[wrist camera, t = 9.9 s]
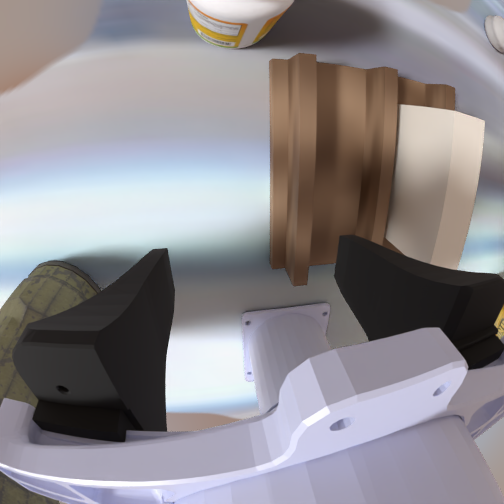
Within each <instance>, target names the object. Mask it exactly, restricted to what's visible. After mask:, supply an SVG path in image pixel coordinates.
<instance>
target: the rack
mask: <svg viewBox="0 0 504 504" xmlns="http://www.w3.org/2000/svg"><path fill="white" fill-rule="evenodd" d="M269 75H270V265H271V268H272V269H281V268H285V269H286V271H287V274H288V276H289V278H290V280H291V282H292V285H293V286H301V285H307V280H308V270H309V266H313V265H323V264H333V263H336V259H337V252H338V244H339V235H356V236H359V237H362V238H365V239H367V240H370V241H372V242H374V243H377V244H379V245H381V246H383V247H386V248H388V249H390V250H393V251H395V252H398V253H400V254H403V253H402V252H401V251H400V250H398V249H397V248H396V247H395V246H394V245H393V244H392V243H390V242H389V241H388V240H387V239H386V238H385V237H384V232H385V226H386V220H387V214H388V207H389V200H390V192H391V184H392V176H393V166H394V156H395V143H396V127H397V104H402V105H413V106H423V107H431V108H439V109H446V110H453V111H455V88H454V87H451V86H449V85H443V84H424V83H420V82H417V81H413V80H409V79H406V78H402V77H398V70H397V69H393V68H388V67H379V68H372V69H360V68H355V67H349V66H342V65H335V64H328V63H319V62H316V55H314V54H304V53H298V54H297V55H295V56H293V57H292V58H290V59H288V60H284V59H272V60H270V61H269ZM403 255H404V254H403Z"/></svg>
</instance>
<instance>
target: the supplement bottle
mask: <svg viewBox="0 0 504 504" xmlns="http://www.w3.org/2000/svg"><path fill="white" fill-rule="evenodd" d="M293 2H294V0H187V5H188V9H189V14H190V19H191V23H192V26H193V28H194V30H195V32H196V33H197V34H198V35H199V36H200V37H201V38H202V39H203V40H204V41H206V42H207V43H209V44H211V45H213V46H216V47H220V48H225V49H238V48H244V47H247V46H250V45H252V44H254V43H256V42H258V41H259V40H261V39H262V38H263V37H264V36H265V35H266V34H267V33H268V32H269V31H270V29H271V28H272V27H273V26H274V24H275V23H276V22H277V21H278V20H279V18H280V17H281V16H282V15H283V14H284V13H285V12H286V10H287V9H288V8H289V7H290V6H291V4H292V3H293Z"/></svg>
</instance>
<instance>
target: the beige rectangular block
mask: <svg viewBox="0 0 504 504" xmlns="http://www.w3.org/2000/svg"><path fill="white" fill-rule="evenodd" d="M484 126H485V121H483V120H481V119H478V118H475V117H472V116H469V115H466V114H463V113H460V112H457V111H453V110H446V109H439V108H431V107H423V106H413V105H402V104H397V127H396V143H395V156H394V166H393V176H392V184H391V192H390V200H389V207H388V214H387V220H386V226H385V232H384V237H385V238H386V239H387V240H388V241H389V242H390V243H392V244H393V245H394V246H395V247H396V248H397V249H398V250H400V251H401V252H402V253H403V254H404V255H405V256H408V257H410V258H413V259H416V260H419V261H422V262H425V263H429V264H432V265H436V266H440V267H444V268H449V269H454V270H457V268H458V265H459V262H460V258H461V255H462V251H463V248H464V244H465V241H466V237H467V233H468V229H469V225H470V221H471V216H472V212H473V207H474V202H475V197H476V192H477V186H478V180H479V174H480V166H481V159H482V150H483V139H484Z"/></svg>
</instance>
